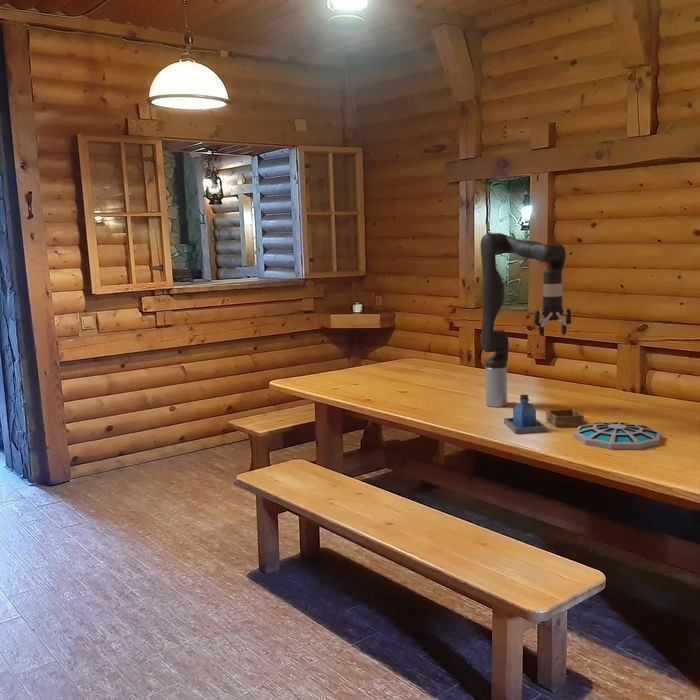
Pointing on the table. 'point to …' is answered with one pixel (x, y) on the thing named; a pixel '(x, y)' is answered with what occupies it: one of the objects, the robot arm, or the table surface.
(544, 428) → the tray
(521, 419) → the perfume bottle
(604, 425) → the decorative platform
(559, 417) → the holder
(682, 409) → the table surface
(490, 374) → the robot arm
